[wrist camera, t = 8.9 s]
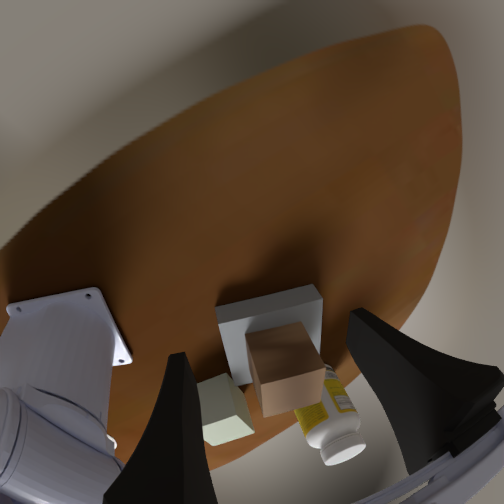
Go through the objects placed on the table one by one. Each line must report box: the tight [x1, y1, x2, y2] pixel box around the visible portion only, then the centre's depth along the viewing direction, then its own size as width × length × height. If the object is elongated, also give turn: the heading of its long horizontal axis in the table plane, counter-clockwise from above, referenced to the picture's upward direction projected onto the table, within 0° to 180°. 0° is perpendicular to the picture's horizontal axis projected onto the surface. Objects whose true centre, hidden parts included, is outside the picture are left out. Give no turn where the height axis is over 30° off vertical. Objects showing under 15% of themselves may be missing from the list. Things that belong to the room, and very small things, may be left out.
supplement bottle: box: [294, 364, 366, 465], centre depth 26 cm, size 6×6×10 cm
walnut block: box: [245, 321, 326, 417], centre depth 22 cm, size 4×4×5 cm
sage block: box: [197, 373, 255, 446], centre depth 26 cm, size 4×4×5 cm
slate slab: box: [215, 284, 323, 386], centre depth 25 cm, size 8×8×2 cm
